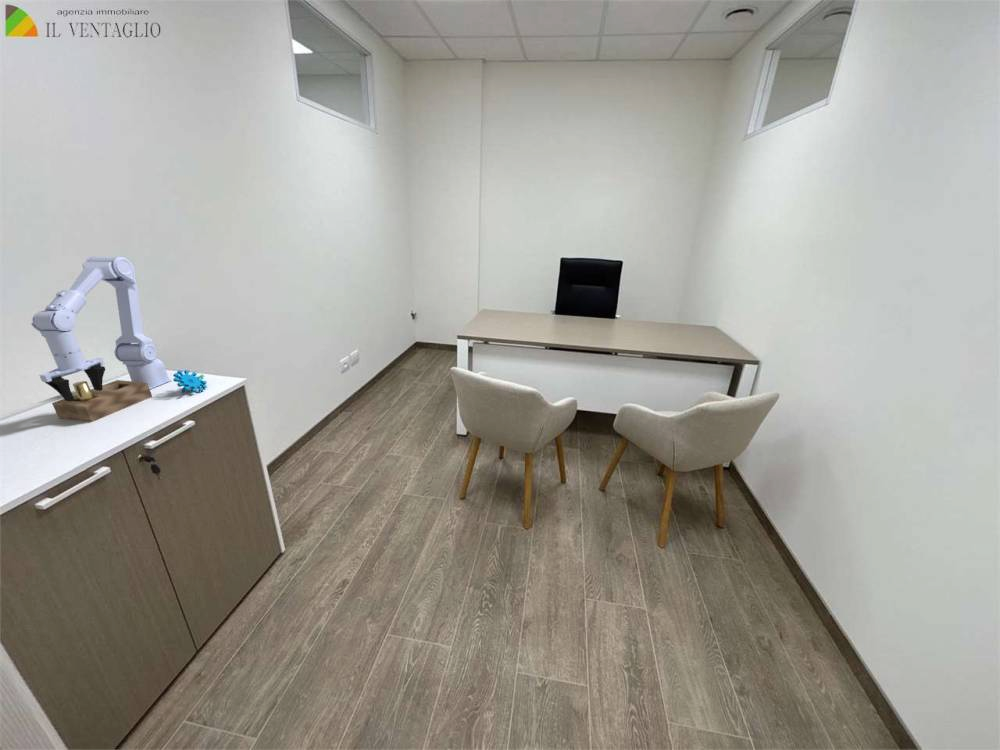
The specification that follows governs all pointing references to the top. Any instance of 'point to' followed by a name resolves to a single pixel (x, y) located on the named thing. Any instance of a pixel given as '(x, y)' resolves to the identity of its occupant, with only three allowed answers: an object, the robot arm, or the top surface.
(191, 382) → the gear
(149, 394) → the hole block
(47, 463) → the top surface
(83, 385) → the peg
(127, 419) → the top surface
